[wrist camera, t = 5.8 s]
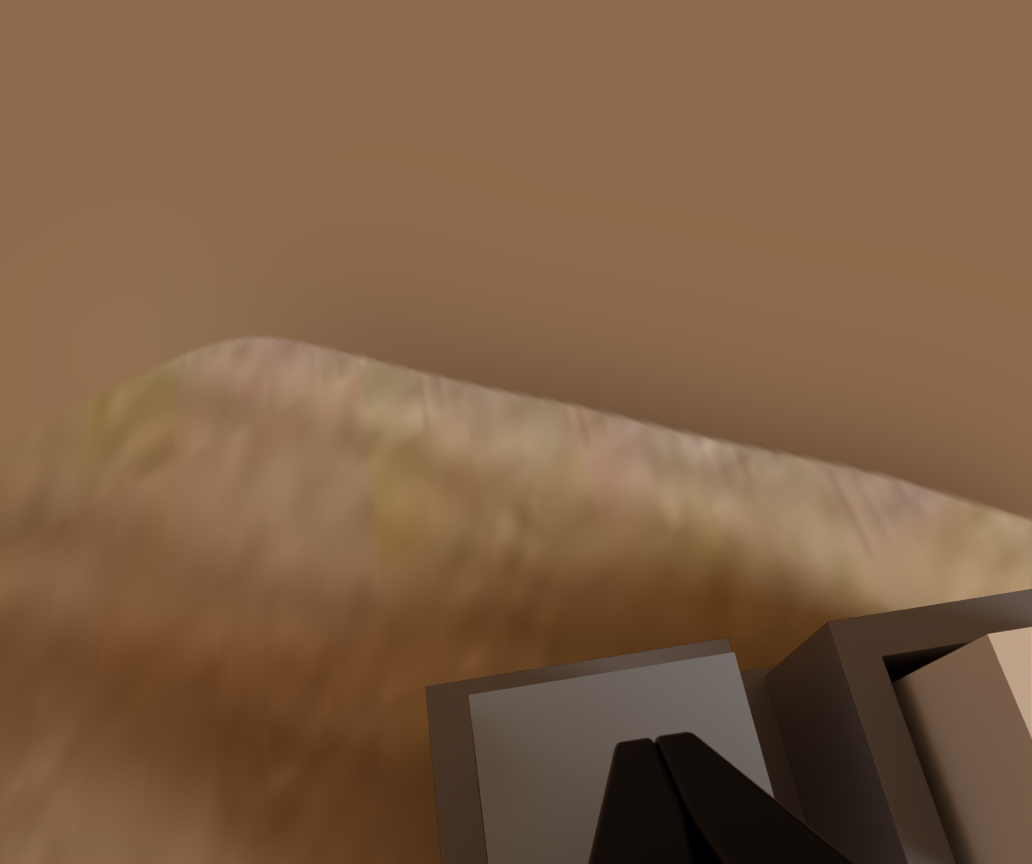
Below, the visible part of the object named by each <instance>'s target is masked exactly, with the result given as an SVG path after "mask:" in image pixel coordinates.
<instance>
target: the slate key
mask: <svg viewBox="0 0 1032 864" xmlns="http://www.w3.org/2000/svg"><path fill="white" fill-rule="evenodd" d="M469 702H470V711H471V720H472V728H473V737H474V746H475V754H476V763H477V772H478V780H479V789H480V798H481V806H482V815H483V823H484V832H485V841H486V849H487V858H488V864H588V861H589V857H590V853H591V848H592V844H593V839H594V835H595V831H596V826H597V822H598V818H599V813H600V809H601V805H602V800H603V796H604V791H605V787H606V783H607V778H608V774H609V770H610V765H611V761H612V756H613V752H614V748H615V746H616V744H617V743H619V742H621V741H627V740H634V739H640V738H650V739H652V740H653V741H654V742H655V739H656V738H657V737H658V736H660V735H666V734H673V733H679V732H691V733H694V734H695V735H696V736H698V737H699V738H700V739H701V740H703V741H704V742H705V743H706V744H708V745H709V746H710V747H711V748H712V749H714V750H715V751H716V752H717V753H719V754H720V755H721V756H722V757H724V758H725V759H726V760H727V761H729V762H730V763H731V764H732V765H734V766H735V767H736V768H737V769H738V770H740V771H741V772H742V773H743V774H745V775H746V776H747V777H748V778H750V779H751V780H752V781H753V782H755V783H756V784H757V785H758V786H760V787H761V788H762V789H763V790H764V791H766V792H767V793H768V794H769V795H771V796H772V797H773V798H774V795H773V792H772V788H771V784H770V781H769V777H768V773H767V770H766V766H765V762H764V759H763V755H762V751H761V748H760V744H759V740H758V737H757V733H756V729H755V726H754V722H753V718H752V715H751V711H750V707H749V704H748V700H747V696H746V693H745V689H744V685H743V682H742V678H741V674H740V671H739V667H738V663H737V660H736V656H735V652H732V653H725V654H719V655H713V656H707V657H701V658H694V659H688V660H682V661H676V662H670V663H664V664H657V665H651V666H645V667H639V668H633V669H626V670H620V671H614V672H608V673H602V674H595V675H589V676H583V677H577V678H571V679H564V680H558V681H552V682H546V683H540V684H534V685H527V686H521V687H515V688H509V689H503V690H496V691H490V692H484V693H478V694H472V695H469Z"/></svg>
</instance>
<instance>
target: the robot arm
mask: <svg viewBox="0 0 1032 864" xmlns="http://www.w3.org/2000/svg"><path fill="white" fill-rule="evenodd" d="M588 864H855V863H854V862H852V861H851V860H850V859H849V858H847V857H846V856H845V855H844V854H842V853H841V852H840V851H839V850H837V849H836V848H835V847H834V846H833V845H831V844H830V843H829V842H828V841H826V840H825V839H824V838H823V837H821V836H820V835H819V834H818V833H816V832H815V831H814V830H813V829H811V828H810V827H809V826H808V825H807V824H805V823H804V822H803V821H802V820H800V819H799V818H798V817H797V816H795V815H794V814H793V813H792V812H790V811H789V810H788V809H787V808H786V807H784V806H783V805H782V804H781V803H779V802H778V801H777V800H776V799H774V798H773V797H772V796H771V795H769V794H768V793H767V792H766V791H764V790H763V789H762V788H761V787H760V786H758V785H757V784H756V783H755V782H753V781H752V780H751V779H750V778H748V777H747V776H746V775H745V774H743V773H742V772H741V771H740V770H738V769H737V768H736V767H735V766H734V765H732V764H731V763H730V762H729V761H727V760H726V759H725V758H724V757H722V756H721V755H720V754H719V753H717V752H716V751H715V750H714V749H712V748H711V747H710V746H709V745H708V744H706V743H705V742H704V741H703V740H701V739H700V738H699V737H698V736H696V735H695V734H694V733H691V732H679V733H673V734H666V735H660V736H658V737H657V738H656V739H655V742H654V741H653V740H652V739H650V738H640V739H634V740H627V741H621V742H619V743H617V744H616V746H615V748H614V752H613V756H612V761H611V765H610V770H609V774H608V778H607V783H606V787H605V791H604V796H603V800H602V805H601V809H600V813H599V818H598V822H597V826H596V831H595V835H594V839H593V844H592V848H591V853H590V857H589V861H588Z"/></svg>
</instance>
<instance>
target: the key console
mask: <svg viewBox="0 0 1032 864" xmlns="http://www.w3.org/2000/svg"><path fill="white" fill-rule="evenodd" d="M1028 627H1032V589H1029V590H1023V591H1016V592H1010V593H1004V594H998V595H992V596H985V597H979V598H973V599H967V600H961V601H954V602H948V603H942V604H936V605H930V606H923V607H917V608H911V609H905V610H899V611H892V612H886V613H880V614H874V615H867V616H861V617H855V618H849V619H843V620H836V621H830V622H827V623H826V624H825V625H823V626H822V627H821V628H820V629H819V630H818V631H816V632H815V633H814V634H813V635H812V636H811V637H809V638H808V639H807V640H806V641H805V642H804V643H803V644H801V645H800V646H799V647H798V648H797V649H796V650H794V651H793V652H792V653H791V654H790V655H789V656H787V657H786V658H785V659H784V660H783V661H782V662H780V663H779V664H778V665H777V666H775V667H769V668H762V669H756V670H750V671H744V672H740V674H741V678H742V682H743V685H744V689H745V693H746V696H747V700H748V704H749V707H750V711H751V715H752V718H753V722H754V726H755V729H756V733H757V737H758V740H759V744H760V748H761V751H762V755H763V759H764V762H765V766H766V770H767V773H768V777H769V781H770V784H771V788H772V792H773V795H774V799H776V800H777V801H778V802H779V803H781V804H782V805H783V806H784V807H786V808H787V809H788V810H789V811H790V812H792V813H793V814H794V815H795V816H797V817H798V818H799V819H800V820H802V821H803V822H804V823H805V824H807V825H808V826H809V827H810V828H811V829H813V830H814V831H815V832H816V833H818V834H819V835H820V836H821V837H823V838H824V839H825V840H826V841H828V842H829V843H830V844H831V845H833V846H834V847H835V848H836V849H837V850H839V851H840V852H841V853H842V854H844V855H845V856H846V857H847V858H849V859H850V860H851V861H852V862H854V863H855V864H956V863H955V860H954V857H953V854H952V851H951V849H950V846H949V843H948V840H947V837H946V835H945V832H944V829H943V826H942V823H941V821H940V818H939V815H938V812H937V809H936V807H935V804H934V801H933V798H932V795H931V793H930V790H929V787H928V784H927V781H926V779H925V776H924V773H923V770H922V767H921V765H920V762H919V759H918V756H917V754H916V751H915V748H914V745H913V742H912V740H911V737H910V734H909V731H908V728H907V726H906V723H905V720H904V717H903V714H902V712H901V709H900V706H899V703H898V700H897V698H896V695H895V692H894V689H893V686H892V684H891V683H893V682H895V681H897V680H899V679H901V678H903V677H905V676H907V675H909V674H910V673H912V672H914V671H916V670H918V669H920V668H922V667H924V666H926V665H928V664H930V663H932V662H934V661H936V660H938V659H940V658H942V657H944V656H946V655H948V654H950V653H952V652H953V651H955V650H957V649H959V648H961V647H963V646H965V645H967V644H969V643H971V642H973V641H975V640H977V639H979V638H981V637H983V636H985V635H987V634H991V633H997V632H1003V631H1010V630H1016V629H1022V628H1028ZM725 653H732V651H731V647H730V643H729V640H728V638H725V639H718V640H712V641H706V642H700V643H694V644H687V645H681V646H675V647H669V648H663V649H656V650H650V651H644V652H638V653H631V654H625V655H619V656H613V657H607V658H600V659H594V660H588V661H582V662H576V663H569V664H563V665H557V666H551V667H545V668H538V669H532V670H526V671H520V672H514V673H507V674H501V675H495V676H489V677H482V678H476V679H470V680H464V681H458V682H451V683H445V684H439V685H433V686H427V687H426V698H427V709H428V720H429V731H430V742H431V753H432V764H433V774H434V785H435V796H436V807H437V818H438V829H439V840H440V851H441V862H442V864H488V858H487V849H486V841H485V832H484V823H483V815H482V806H481V798H480V789H479V780H478V772H477V763H476V754H475V746H474V737H473V728H472V720H471V711H470V702H469V695H472V694H478V693H484V692H490V691H496V690H503V689H509V688H515V687H521V686H527V685H534V684H540V683H546V682H552V681H558V680H564V679H571V678H577V677H583V676H589V675H595V674H602V673H608V672H614V671H620V670H626V669H633V668H639V667H645V666H651V665H657V664H664V663H670V662H676V661H682V660H688V659H694V658H701V657H707V656H713V655H719V654H725Z"/></svg>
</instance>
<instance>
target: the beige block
mask: <svg viewBox="0 0 1032 864" xmlns="http://www.w3.org/2000/svg"><path fill="white" fill-rule="evenodd" d="M891 684H892V686H893V689H894V692H895V695H896V698H897V700H898V703H899V706H900V709H901V712H902V714H903V717H904V720H905V723H906V726H907V728H908V731H909V734H910V737H911V740H912V742H913V745H914V748H915V751H916V754H917V756H918V759H919V762H920V765H921V767H922V770H923V773H924V776H925V779H926V781H927V784H928V787H929V790H930V793H931V795H932V798H933V801H934V804H935V807H936V809H937V812H938V815H939V818H940V821H941V823H942V826H943V829H944V832H945V835H946V837H947V840H948V843H949V846H950V849H951V851H952V854H953V857H954V860H955V863H956V864H1032V627H1028V628H1022V629H1016V630H1010V631H1003V632H997V633H991V634H987V635H985V636H983V637H981V638H979V639H977V640H975V641H973V642H971V643H969V644H967V645H965V646H963V647H961V648H959V649H957V650H955V651H953V652H952V653H950V654H948V655H946V656H944V657H942V658H940V659H938V660H936V661H934V662H932V663H930V664H928V665H926V666H924V667H922V668H920V669H918V670H916V671H914V672H912V673H910V674H909V675H907V676H905V677H903V678H901V679H899V680H897V681H895V682H893V683H891Z"/></svg>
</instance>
